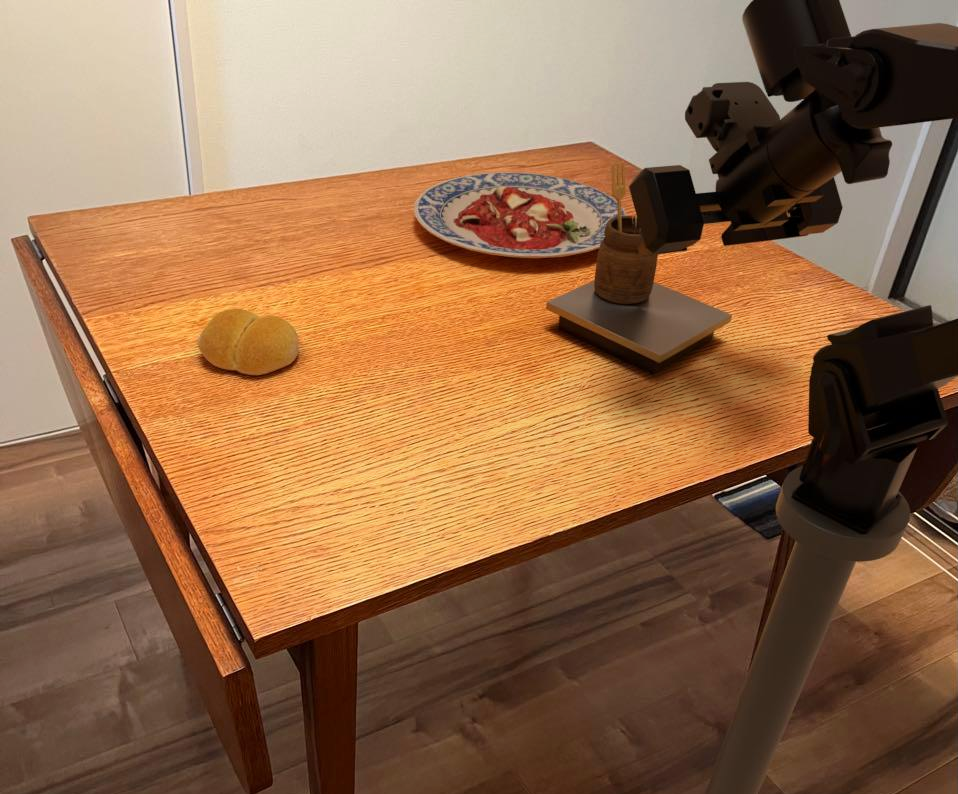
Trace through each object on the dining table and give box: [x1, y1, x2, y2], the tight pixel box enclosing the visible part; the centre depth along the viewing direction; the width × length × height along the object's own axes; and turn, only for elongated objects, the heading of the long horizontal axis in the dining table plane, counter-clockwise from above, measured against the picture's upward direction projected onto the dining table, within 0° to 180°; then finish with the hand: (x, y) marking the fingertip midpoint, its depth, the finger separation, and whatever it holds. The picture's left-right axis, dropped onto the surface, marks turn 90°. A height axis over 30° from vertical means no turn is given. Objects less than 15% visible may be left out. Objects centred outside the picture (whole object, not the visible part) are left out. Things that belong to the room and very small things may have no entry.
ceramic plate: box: [413, 171, 628, 259], centre depth 111 cm, size 26×26×3 cm
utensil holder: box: [594, 160, 659, 304], centre depth 89 cm, size 6×6×12 cm
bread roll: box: [197, 307, 300, 376], centre depth 85 cm, size 8×9×4 cm
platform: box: [545, 279, 733, 376], centre depth 92 cm, size 14×12×3 cm
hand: (682, 245), depth 83 cm, fingers open, 9 cm apart
